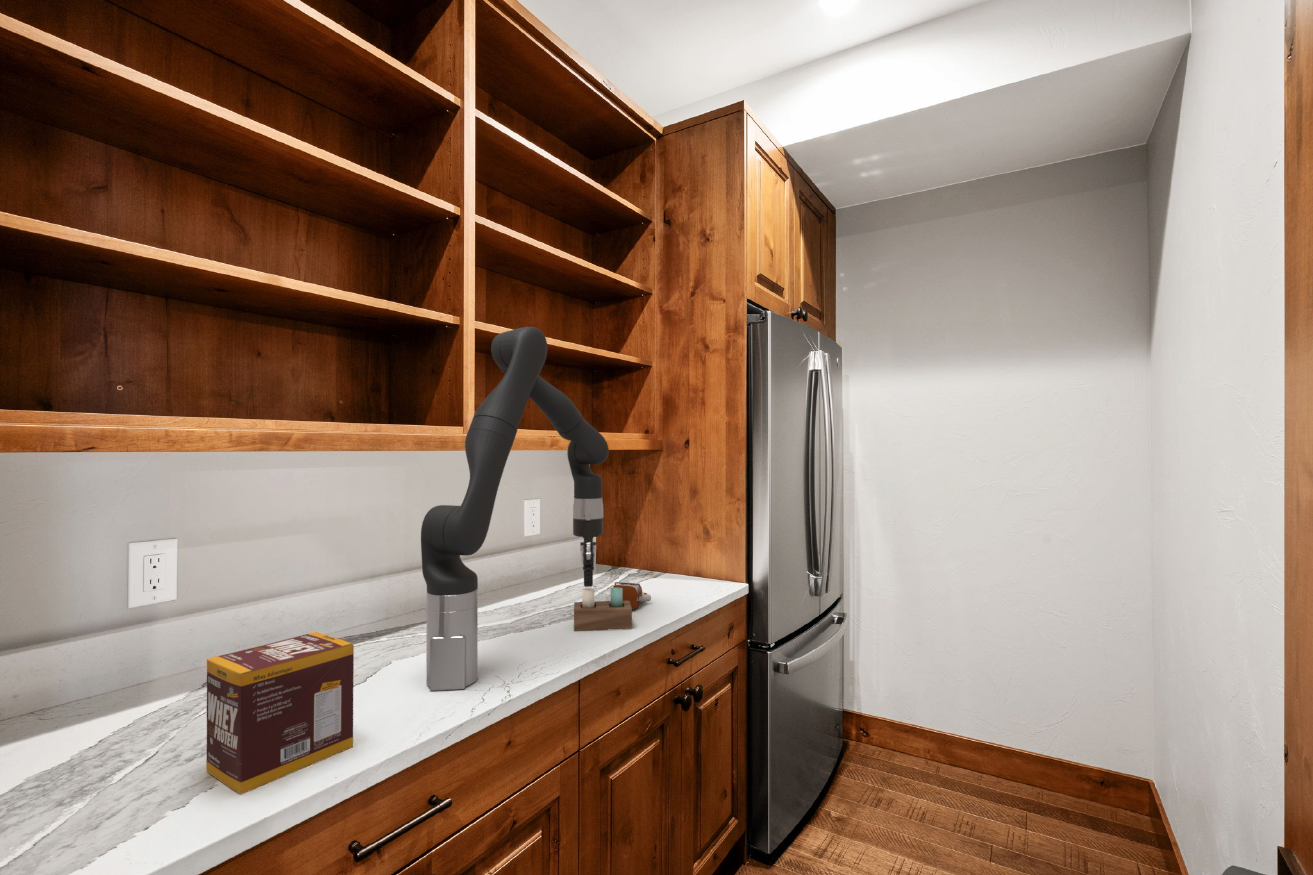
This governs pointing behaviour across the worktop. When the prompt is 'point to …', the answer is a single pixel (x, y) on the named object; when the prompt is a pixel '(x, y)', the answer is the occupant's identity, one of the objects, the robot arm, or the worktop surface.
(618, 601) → the peg teal
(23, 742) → the worktop surface
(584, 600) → the peg cream
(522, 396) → the robot arm
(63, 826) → the worktop surface
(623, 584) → the toy
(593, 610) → the socket block
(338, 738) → the supplement box
